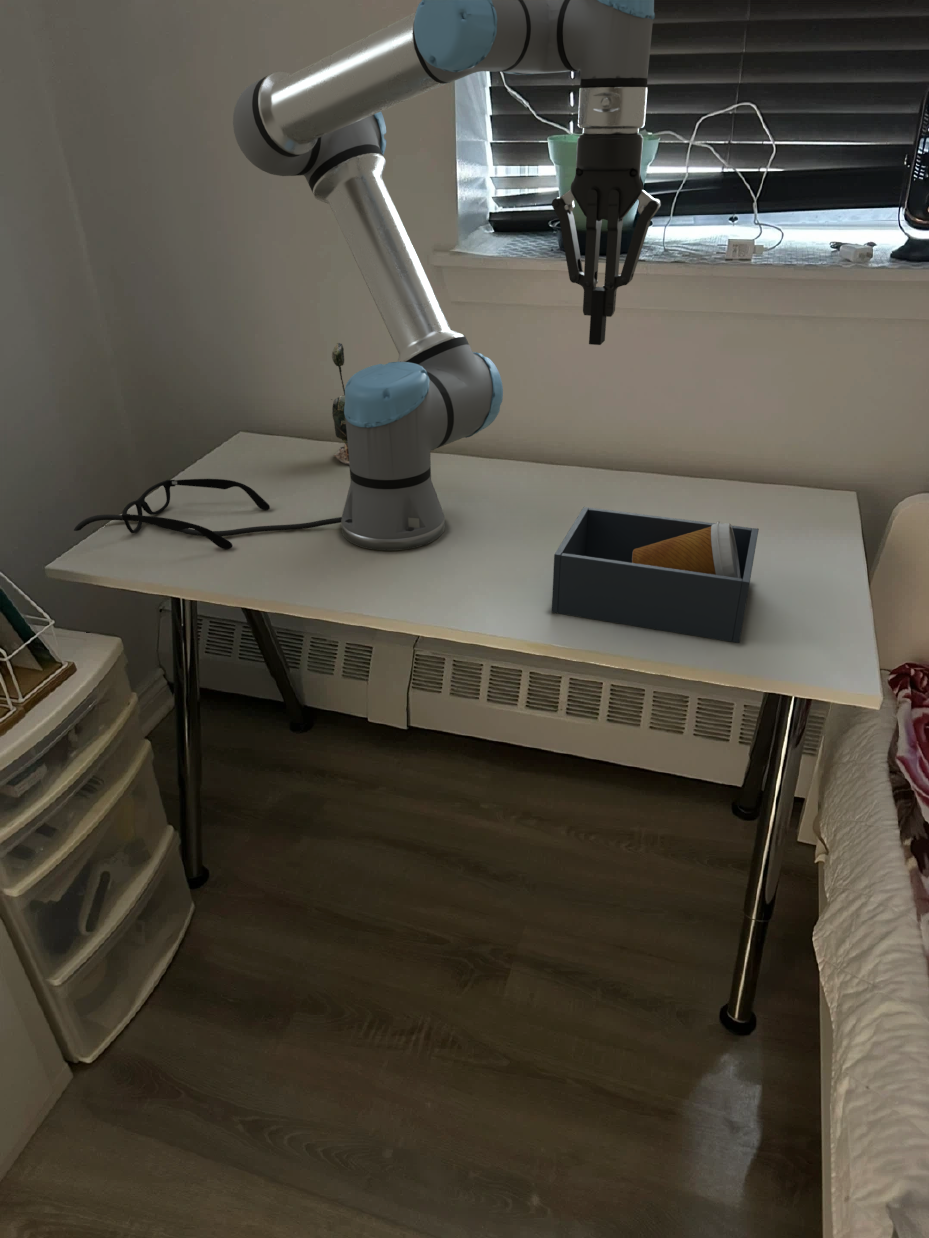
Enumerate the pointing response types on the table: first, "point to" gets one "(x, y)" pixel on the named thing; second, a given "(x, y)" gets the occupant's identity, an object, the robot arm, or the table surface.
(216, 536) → the glasses
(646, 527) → the bin
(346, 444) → the plant with pod
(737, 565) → the disposable coffee cup
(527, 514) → the table surface
